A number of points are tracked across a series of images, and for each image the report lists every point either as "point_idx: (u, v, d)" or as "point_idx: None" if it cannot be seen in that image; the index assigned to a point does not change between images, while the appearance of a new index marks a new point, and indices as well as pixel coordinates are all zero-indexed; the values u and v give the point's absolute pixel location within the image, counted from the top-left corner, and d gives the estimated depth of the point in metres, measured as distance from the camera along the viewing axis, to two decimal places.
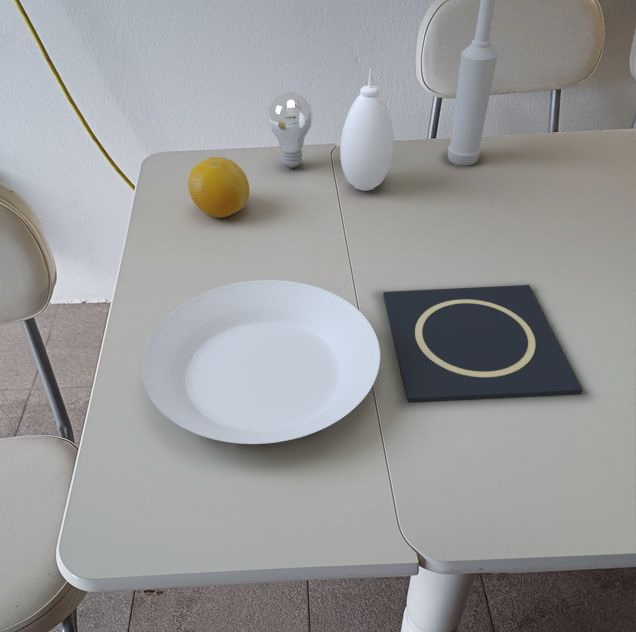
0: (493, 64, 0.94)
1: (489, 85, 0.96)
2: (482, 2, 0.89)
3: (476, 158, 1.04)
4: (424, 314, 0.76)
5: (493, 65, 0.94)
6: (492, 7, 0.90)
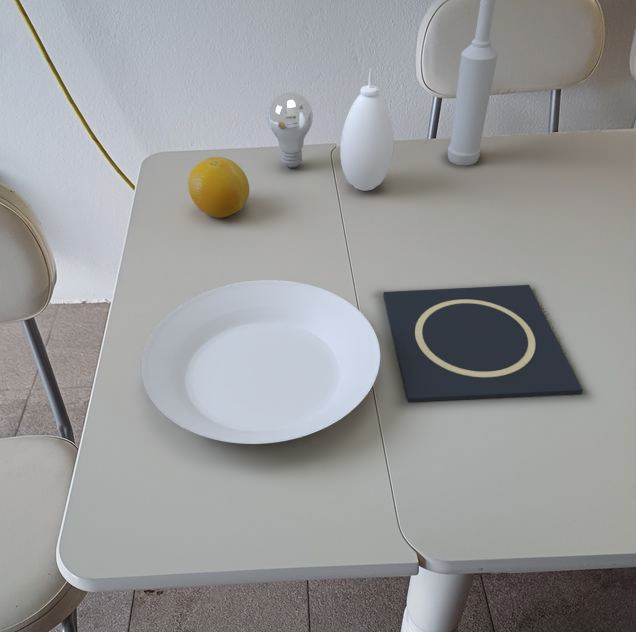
0: (493, 64, 0.94)
1: (489, 85, 0.96)
2: (482, 2, 0.89)
3: (476, 158, 1.04)
4: (424, 314, 0.76)
5: (493, 65, 0.94)
6: (492, 7, 0.90)
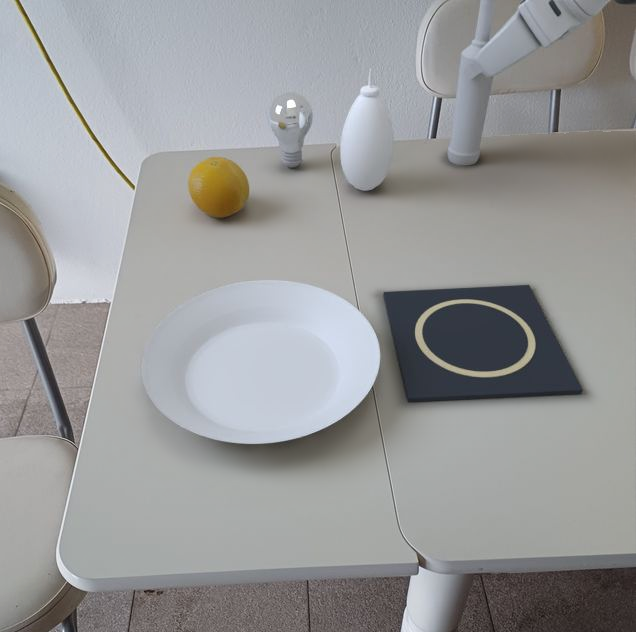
0: None
1: (489, 85, 0.96)
2: (482, 2, 0.89)
3: (476, 158, 1.04)
4: (424, 314, 0.76)
5: None
6: (492, 7, 0.90)
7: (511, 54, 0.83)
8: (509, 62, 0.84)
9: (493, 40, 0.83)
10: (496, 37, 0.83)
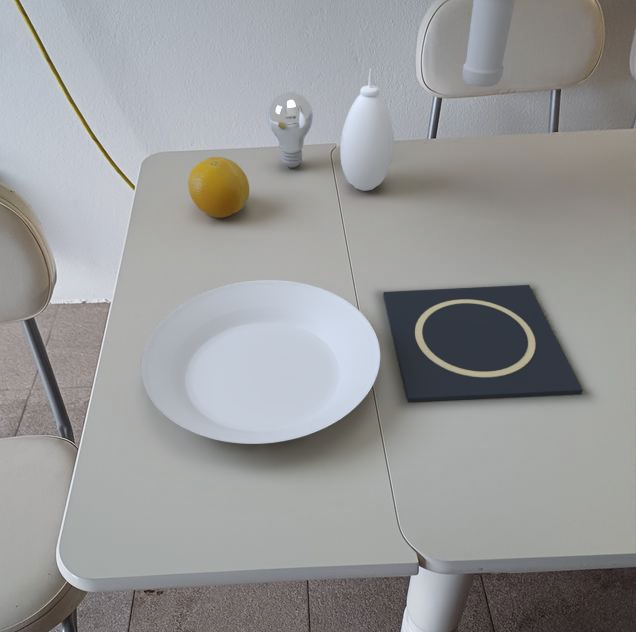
0: None
1: None
2: None
3: (498, 77, 0.84)
4: (424, 314, 0.76)
5: None
6: None
7: None
8: None
9: None
10: None
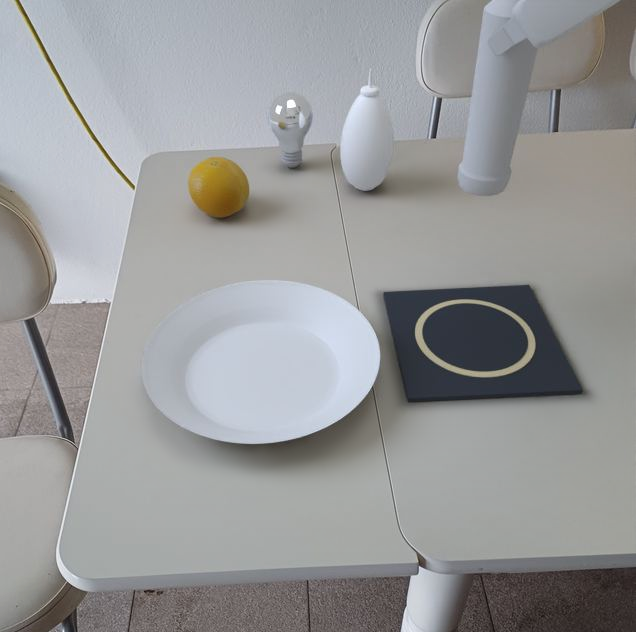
0: None
1: (531, 64, 0.56)
2: None
3: (504, 184, 0.64)
4: (424, 314, 0.76)
5: None
6: None
7: (585, 1, 0.44)
8: (581, 16, 0.45)
9: None
10: None
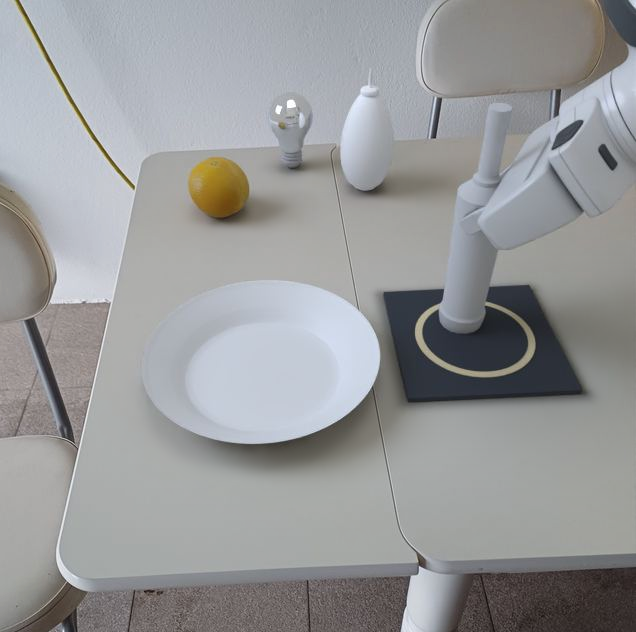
0: None
1: None
2: (489, 126, 0.59)
3: (479, 324, 0.73)
4: (424, 314, 0.76)
5: None
6: (504, 133, 0.59)
7: (536, 224, 0.53)
8: (533, 235, 0.53)
9: (508, 202, 0.53)
10: (512, 198, 0.52)
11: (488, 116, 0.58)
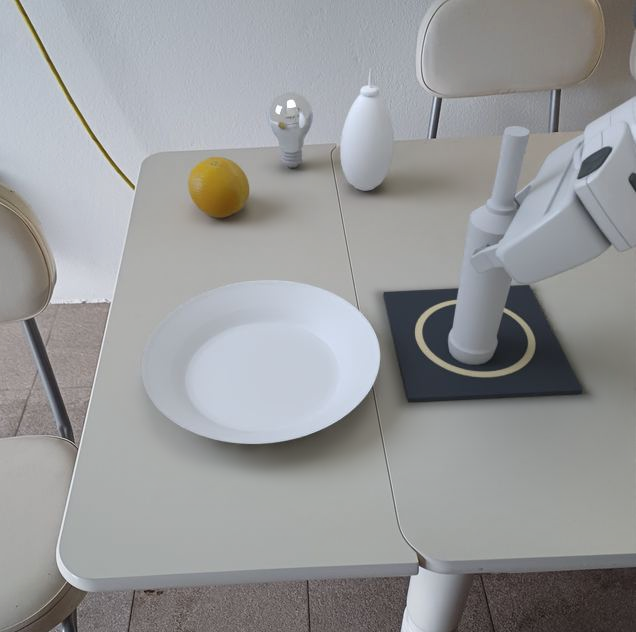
0: None
1: None
2: (504, 151, 0.55)
3: (491, 355, 0.69)
4: (424, 314, 0.76)
5: None
6: (520, 158, 0.55)
7: (560, 258, 0.49)
8: (557, 269, 0.49)
9: (529, 234, 0.49)
10: (535, 231, 0.48)
11: (504, 140, 0.55)
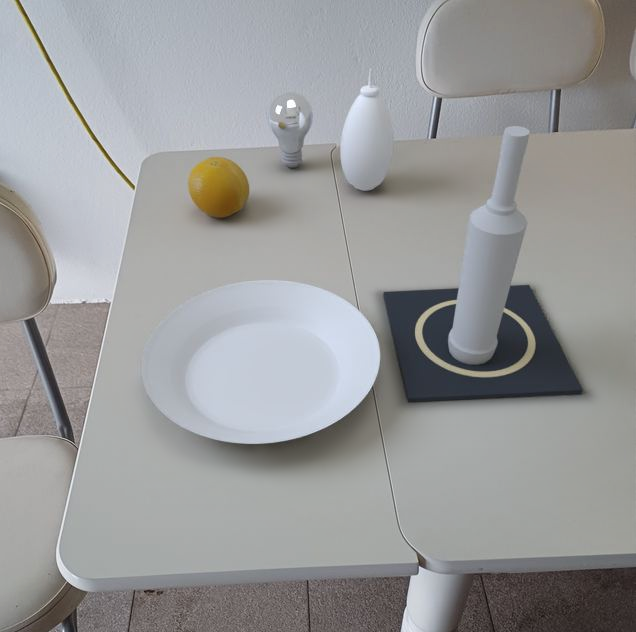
0: (520, 238, 0.59)
1: (513, 265, 0.61)
2: (504, 151, 0.55)
3: (491, 355, 0.69)
4: (424, 314, 0.76)
5: (520, 239, 0.59)
6: (520, 158, 0.55)
7: None
8: None
9: None
10: None
11: (504, 140, 0.55)
